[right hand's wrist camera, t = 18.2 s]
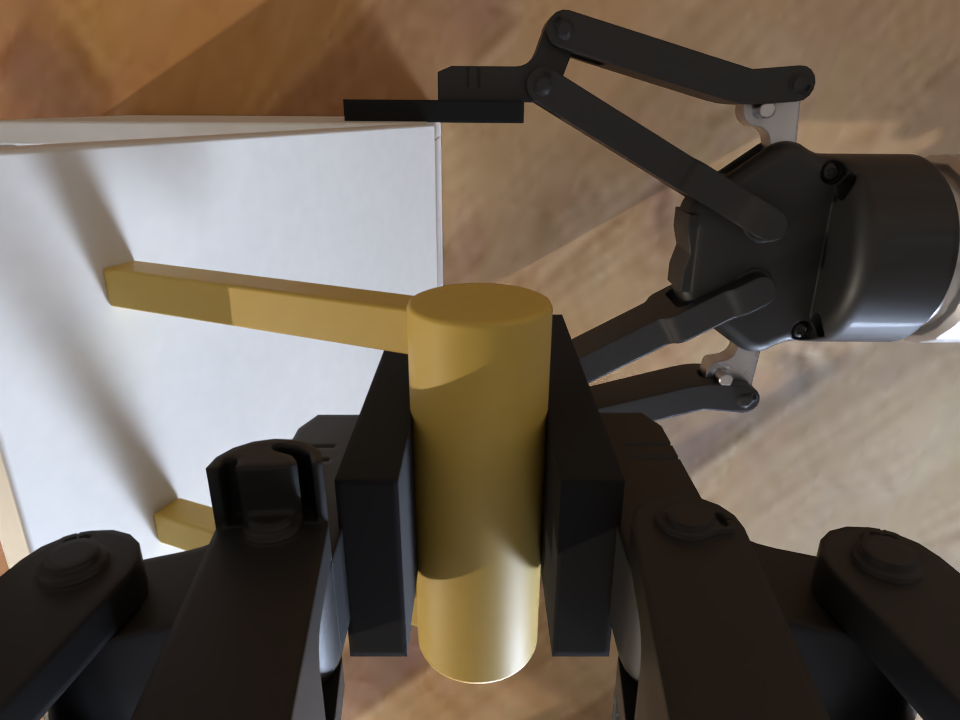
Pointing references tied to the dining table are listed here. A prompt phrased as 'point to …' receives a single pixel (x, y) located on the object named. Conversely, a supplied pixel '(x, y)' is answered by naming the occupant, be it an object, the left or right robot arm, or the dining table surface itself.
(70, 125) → the chest
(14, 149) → the lid
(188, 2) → the dining table surface
